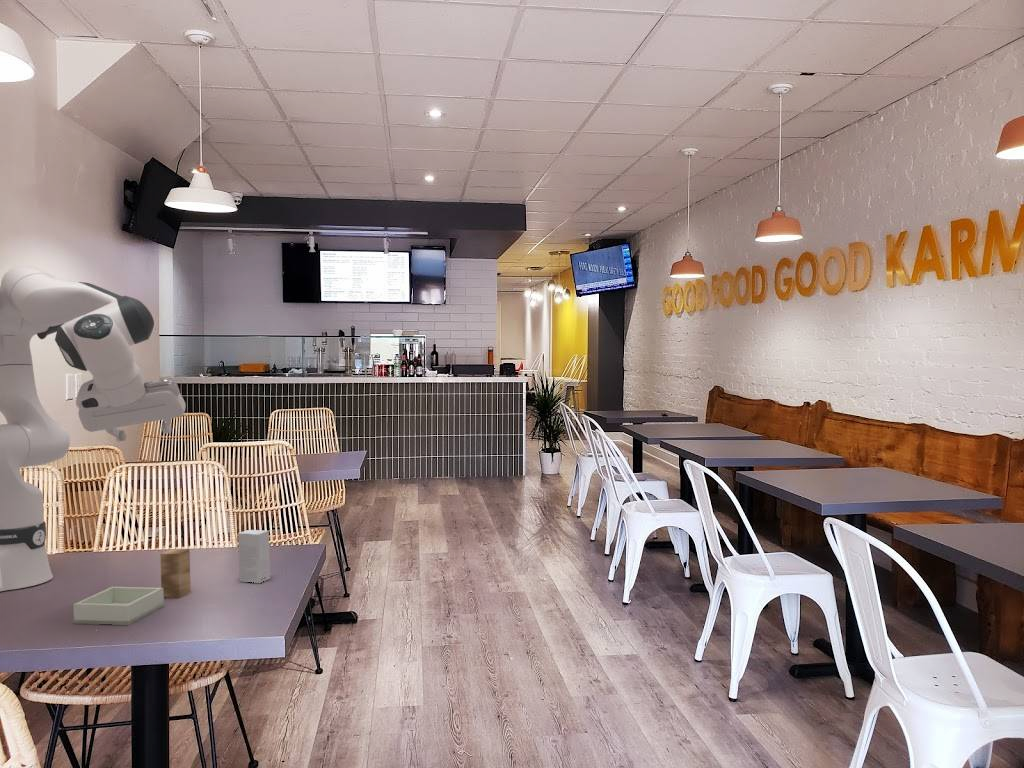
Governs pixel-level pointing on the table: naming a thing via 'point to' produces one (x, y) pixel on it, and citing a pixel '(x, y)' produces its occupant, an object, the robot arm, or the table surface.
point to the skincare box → (254, 556)
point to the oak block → (175, 572)
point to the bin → (118, 605)
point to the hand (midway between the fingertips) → (145, 435)
